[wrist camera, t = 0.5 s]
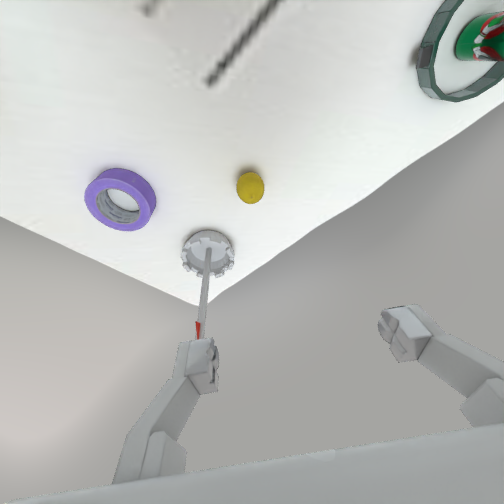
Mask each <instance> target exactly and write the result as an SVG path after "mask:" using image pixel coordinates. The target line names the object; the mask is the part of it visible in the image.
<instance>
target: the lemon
mask: <svg viewBox="0 0 504 504" xmlns="http://www.w3.org/2000/svg"><path fill="white" fill-rule="evenodd" d="M237 193H238V196H239V197H240V199H241V200H242V201H243V202H245V203H248V204H253V203H256V202H258V201H259V200H260V199H261V198H262V196H263V194H264V183H263V180H262V179H261V177H260V176H259V175H257V174H255V173H252V172H248V173H245V174H243V175H242V176H241V177H240V178H239V179H238V181H237Z"/></svg>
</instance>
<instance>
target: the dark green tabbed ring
mask: <svg viewBox="0 0 504 504" xmlns="http://www.w3.org/2000/svg"><path fill="white" fill-rule="evenodd" d="M463 1H464V0H445V2H444V3H443V4H442V6H441V7H440V8H439V10H438V11H437V12H436V14H435V15H434V17H433V19H432V22H431V24H430V26H429V28H428V30H427V32H426V34H425V36H424V39H423V41H422V43H421V48H420V49H419V55H418V60H417V65H416V69H417V73H418V79H419V85H420V87H421V88H422V89H423V90H424V91H425V93H426V94H427V95H428V96H429V97H431V98H436V99H440V100H446V101H451V102H460V101H464V100H467V99H470V98H474V97H476V96H478V95H480V94H481V93H483V92H485V91H486V90H488V89H489V88H491V87H492V86H494V85H496V84H497V83H498V82H500V81H501V80H502V79H503V78H504V62H503V61H498V62H497V63H496V64H495V65H494V66H493V67H492V68H491V69H490V70H489V71H488V72H487V73H486V74H485V75H484V76H483V77H482V78H481V79H479V80H478V81H476V82H475V83H473V84H472V85H470V86H469V87H467V88H466V89H464V90H461V91H458V92H455V93H451V94H448V95H445V94H444V93H443V92H442V91H441V90H440V89H439V87H438V86H437V85H436V82H435V74H434V62H435V58H436V53H437V49H438V45H439V41H440V39H441V37H442V35H443V33H444V31H445V30H446V28H447V26H448V24H449V22H450V20H451V18H452V16H453V14H454V12H455V11H456V10H457V9H458V7H459V6H460V5H461V4H462V2H463Z"/></svg>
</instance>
